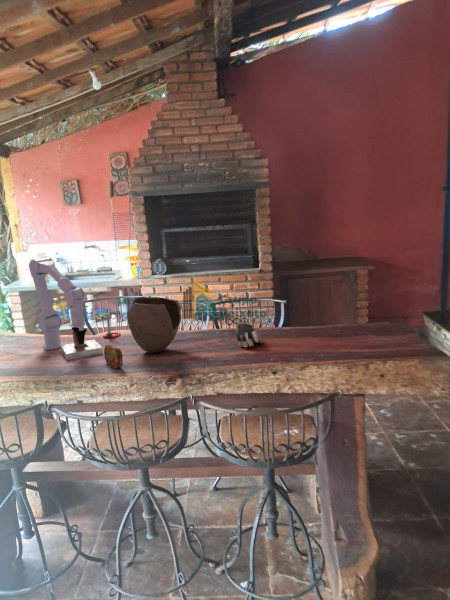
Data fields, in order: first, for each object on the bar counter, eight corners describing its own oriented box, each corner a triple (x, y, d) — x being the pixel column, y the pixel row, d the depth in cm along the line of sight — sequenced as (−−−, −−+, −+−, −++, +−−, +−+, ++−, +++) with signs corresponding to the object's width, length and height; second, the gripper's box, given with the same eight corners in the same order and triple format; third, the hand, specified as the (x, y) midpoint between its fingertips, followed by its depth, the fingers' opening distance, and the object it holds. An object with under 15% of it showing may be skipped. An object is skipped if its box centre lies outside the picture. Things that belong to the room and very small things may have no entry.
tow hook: (108, 334, 244) (101, 338, 235) (106, 310, 242) (99, 314, 233) (123, 334, 243) (116, 338, 234) (121, 310, 241) (114, 314, 232)
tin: (104, 362, 197) (102, 343, 195) (111, 360, 199) (109, 342, 197) (117, 371, 185) (115, 351, 183) (124, 369, 187) (123, 349, 185)
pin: (74, 348, 213) (72, 332, 211) (83, 346, 214) (81, 330, 213) (76, 350, 209) (74, 334, 207) (85, 349, 211) (82, 332, 209)
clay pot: (120, 353, 208) (115, 300, 203) (161, 341, 225) (157, 291, 220) (153, 363, 191) (148, 306, 187) (194, 349, 209) (190, 296, 204)
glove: (233, 341, 227) (238, 349, 202) (234, 321, 227) (238, 327, 202) (258, 341, 228) (265, 350, 203) (258, 321, 227) (266, 328, 202)
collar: (61, 351, 216) (60, 345, 215) (94, 345, 223) (94, 339, 222) (67, 360, 202) (66, 353, 201) (102, 353, 209) (102, 347, 209)
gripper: (65, 312, 213) (68, 340, 216) (71, 318, 201) (74, 347, 203) (80, 310, 216) (83, 337, 219) (87, 316, 204) (90, 344, 206)
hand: (80, 342), depth 211 cm, fingers closed on pin, 4 cm apart
